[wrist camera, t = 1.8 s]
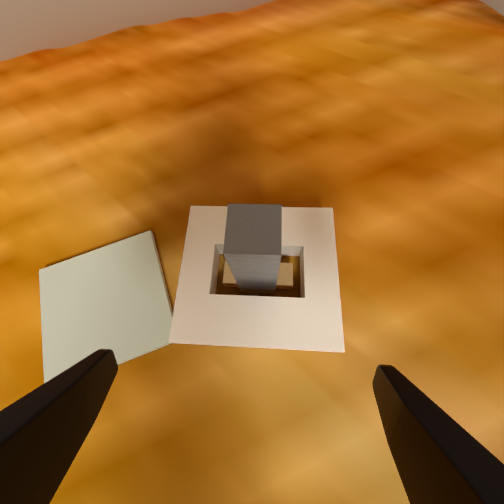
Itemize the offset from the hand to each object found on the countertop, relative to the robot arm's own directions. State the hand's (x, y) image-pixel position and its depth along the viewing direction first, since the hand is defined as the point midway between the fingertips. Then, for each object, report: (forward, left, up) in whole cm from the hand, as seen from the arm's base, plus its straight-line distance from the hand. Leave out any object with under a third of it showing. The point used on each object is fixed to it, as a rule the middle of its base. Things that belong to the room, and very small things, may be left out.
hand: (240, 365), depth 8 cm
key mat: (-8, +12, -12) cm, 19 cm away
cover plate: (+4, +5, -12) cm, 14 cm away
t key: (+4, +5, -12) cm, 14 cm away
